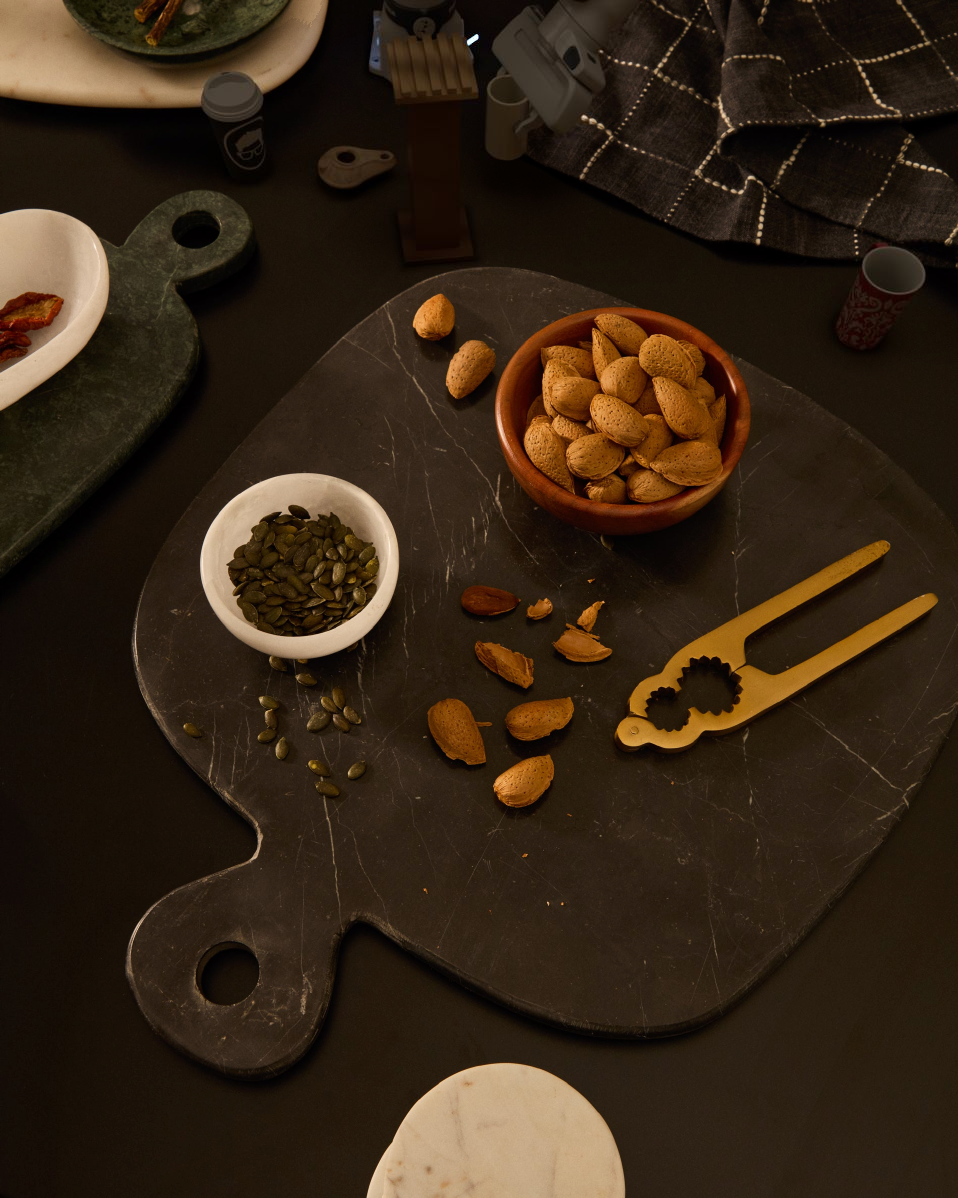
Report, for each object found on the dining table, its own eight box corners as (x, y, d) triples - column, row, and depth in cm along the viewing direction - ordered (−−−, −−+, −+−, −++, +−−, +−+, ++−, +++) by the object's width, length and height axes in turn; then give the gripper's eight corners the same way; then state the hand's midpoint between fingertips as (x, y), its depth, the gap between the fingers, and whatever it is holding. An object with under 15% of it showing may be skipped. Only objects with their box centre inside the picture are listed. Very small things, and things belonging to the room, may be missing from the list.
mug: (890, 357, 149) (929, 295, 137) (831, 353, 149) (865, 291, 137) (882, 294, 155) (918, 229, 142) (825, 290, 155) (857, 224, 143)
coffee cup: (281, 151, 165) (266, 70, 151) (270, 192, 161) (254, 112, 147) (225, 146, 165) (205, 64, 151) (213, 186, 161) (191, 106, 147)
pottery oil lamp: (402, 189, 161) (387, 169, 154) (336, 209, 164) (318, 192, 157) (393, 138, 162) (378, 117, 155) (327, 160, 165) (309, 140, 158)
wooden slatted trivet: (386, 49, 133) (385, 37, 131) (466, 43, 134) (466, 31, 132) (395, 104, 128) (395, 92, 127) (478, 98, 129) (478, 86, 128)
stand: (397, 215, 159) (386, 46, 132) (463, 209, 160) (466, 40, 133) (405, 266, 155) (395, 101, 128) (473, 259, 156) (478, 94, 129)
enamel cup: (482, 131, 157) (484, 75, 148) (523, 128, 157) (527, 72, 148) (488, 161, 154) (491, 106, 145) (530, 158, 155) (535, 103, 146)
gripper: (521, -13, 145) (461, 66, 152) (588, 73, 138) (522, 152, 145) (545, 8, 150) (486, 83, 157) (611, 92, 143) (546, 167, 150)
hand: (504, 117), depth 151 cm, fingers closed on enamel cup, 7 cm apart
